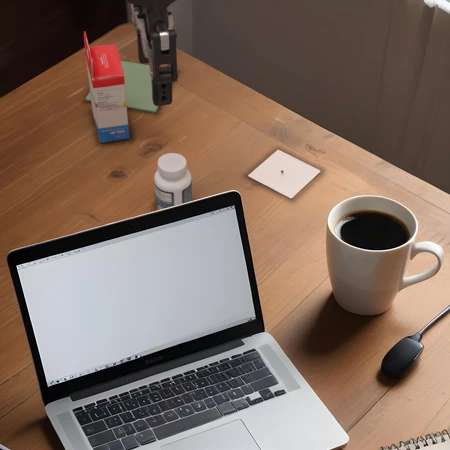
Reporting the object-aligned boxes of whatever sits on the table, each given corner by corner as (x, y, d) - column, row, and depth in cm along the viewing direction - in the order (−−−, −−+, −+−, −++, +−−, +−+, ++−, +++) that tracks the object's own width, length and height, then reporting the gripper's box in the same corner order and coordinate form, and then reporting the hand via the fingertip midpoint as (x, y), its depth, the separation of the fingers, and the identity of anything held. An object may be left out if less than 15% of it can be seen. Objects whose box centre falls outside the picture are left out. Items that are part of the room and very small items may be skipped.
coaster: (321, 171, 127) (321, 167, 126) (291, 198, 123) (291, 194, 122) (278, 149, 130) (278, 145, 129) (247, 175, 126) (247, 171, 125)
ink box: (130, 140, 131) (124, 57, 119) (99, 144, 130) (89, 61, 118) (121, 107, 136) (114, 25, 124) (91, 111, 135) (81, 29, 123)
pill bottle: (186, 194, 123) (185, 146, 116) (196, 218, 120) (196, 170, 113) (151, 201, 122) (149, 153, 115) (160, 225, 119) (158, 177, 112)
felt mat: (85, 101, 137) (85, 99, 136) (109, 60, 144) (108, 58, 144) (155, 113, 135) (155, 111, 135) (176, 71, 142) (175, 69, 142)
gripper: (102, -81, 90) (113, 52, 102) (125, -14, 81) (135, 123, 94) (170, -88, 91) (173, 45, 104) (200, -22, 83) (199, 114, 95)
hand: (155, 82), depth 99 cm, fingers open, 8 cm apart
